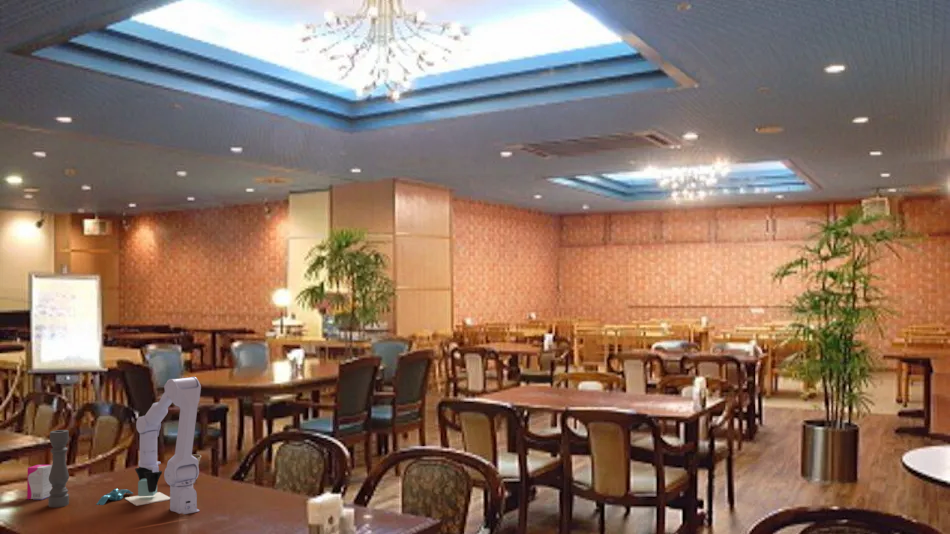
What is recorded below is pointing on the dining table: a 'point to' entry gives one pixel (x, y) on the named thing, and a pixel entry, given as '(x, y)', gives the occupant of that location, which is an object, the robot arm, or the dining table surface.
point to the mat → (147, 499)
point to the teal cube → (144, 488)
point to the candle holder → (59, 469)
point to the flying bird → (113, 496)
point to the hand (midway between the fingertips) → (148, 489)
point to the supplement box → (38, 482)
